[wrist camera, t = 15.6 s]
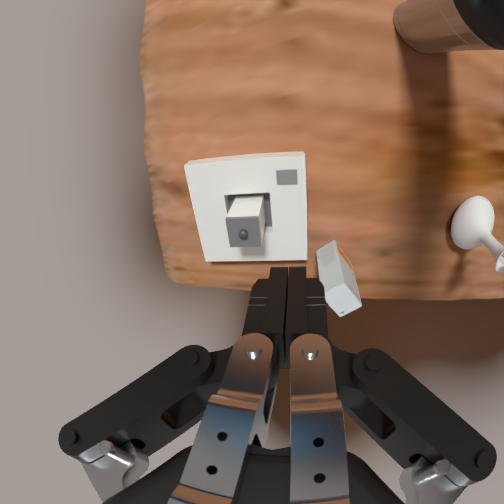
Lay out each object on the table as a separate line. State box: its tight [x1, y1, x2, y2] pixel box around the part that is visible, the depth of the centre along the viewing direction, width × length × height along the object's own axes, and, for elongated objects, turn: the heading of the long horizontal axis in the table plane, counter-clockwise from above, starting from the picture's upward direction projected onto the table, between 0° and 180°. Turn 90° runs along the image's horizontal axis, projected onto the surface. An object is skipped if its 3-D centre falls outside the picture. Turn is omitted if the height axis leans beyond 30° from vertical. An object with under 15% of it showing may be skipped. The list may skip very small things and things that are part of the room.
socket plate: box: [184, 152, 307, 261], centre depth 43 cm, size 18×18×3 cm
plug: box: [225, 195, 266, 247], centre depth 41 cm, size 4×4×9 cm
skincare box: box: [316, 240, 362, 317], centre depth 43 cm, size 6×4×12 cm
